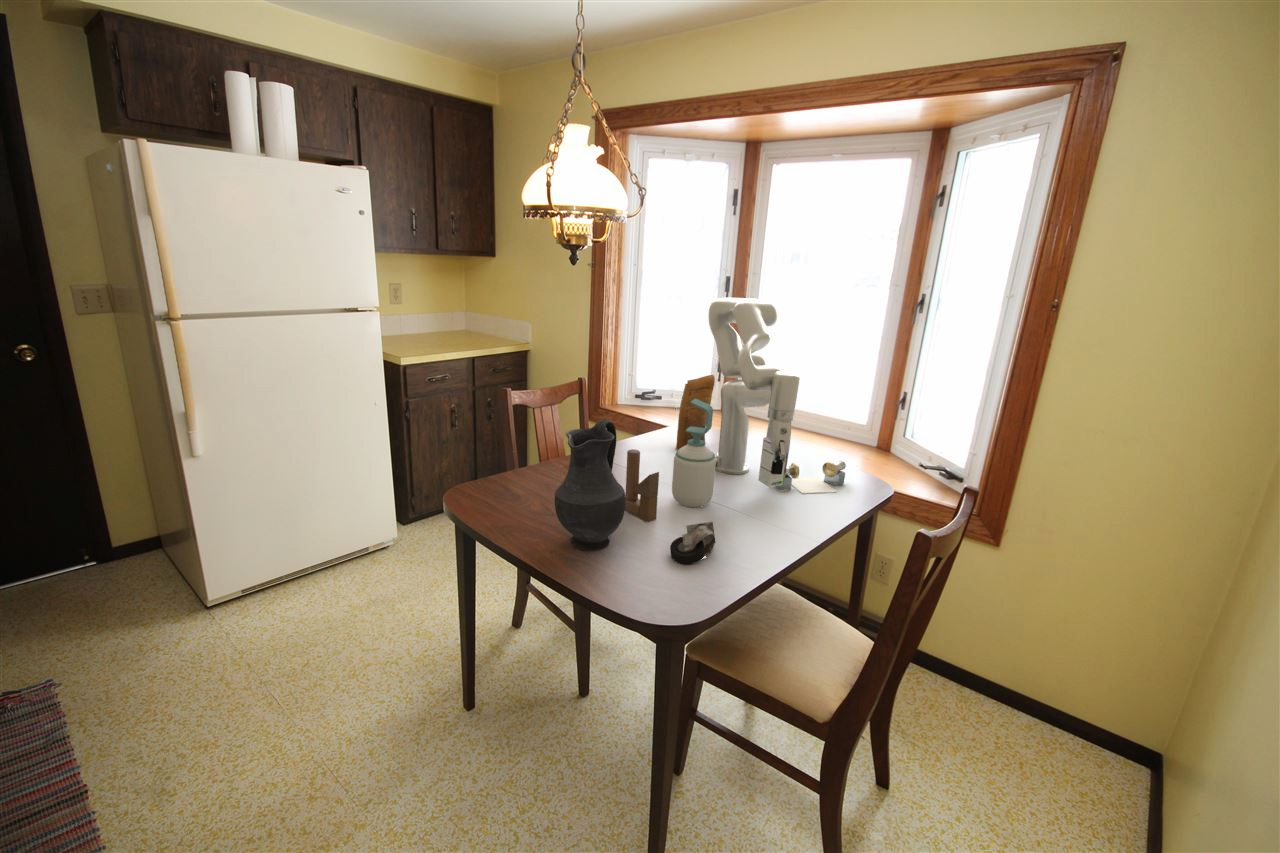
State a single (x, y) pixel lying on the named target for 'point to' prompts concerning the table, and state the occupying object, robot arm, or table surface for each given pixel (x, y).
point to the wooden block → (640, 490)
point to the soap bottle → (695, 466)
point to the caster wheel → (693, 544)
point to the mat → (811, 486)
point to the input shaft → (792, 472)
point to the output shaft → (834, 472)
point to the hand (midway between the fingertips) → (772, 468)
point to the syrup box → (766, 466)
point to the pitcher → (591, 488)
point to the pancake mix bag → (693, 408)
